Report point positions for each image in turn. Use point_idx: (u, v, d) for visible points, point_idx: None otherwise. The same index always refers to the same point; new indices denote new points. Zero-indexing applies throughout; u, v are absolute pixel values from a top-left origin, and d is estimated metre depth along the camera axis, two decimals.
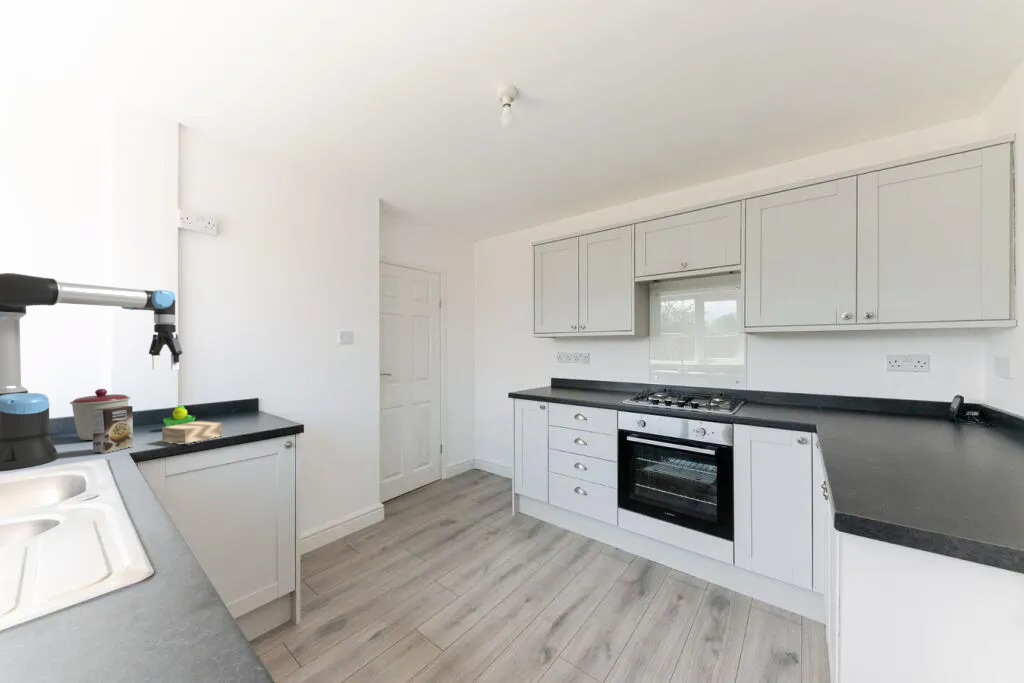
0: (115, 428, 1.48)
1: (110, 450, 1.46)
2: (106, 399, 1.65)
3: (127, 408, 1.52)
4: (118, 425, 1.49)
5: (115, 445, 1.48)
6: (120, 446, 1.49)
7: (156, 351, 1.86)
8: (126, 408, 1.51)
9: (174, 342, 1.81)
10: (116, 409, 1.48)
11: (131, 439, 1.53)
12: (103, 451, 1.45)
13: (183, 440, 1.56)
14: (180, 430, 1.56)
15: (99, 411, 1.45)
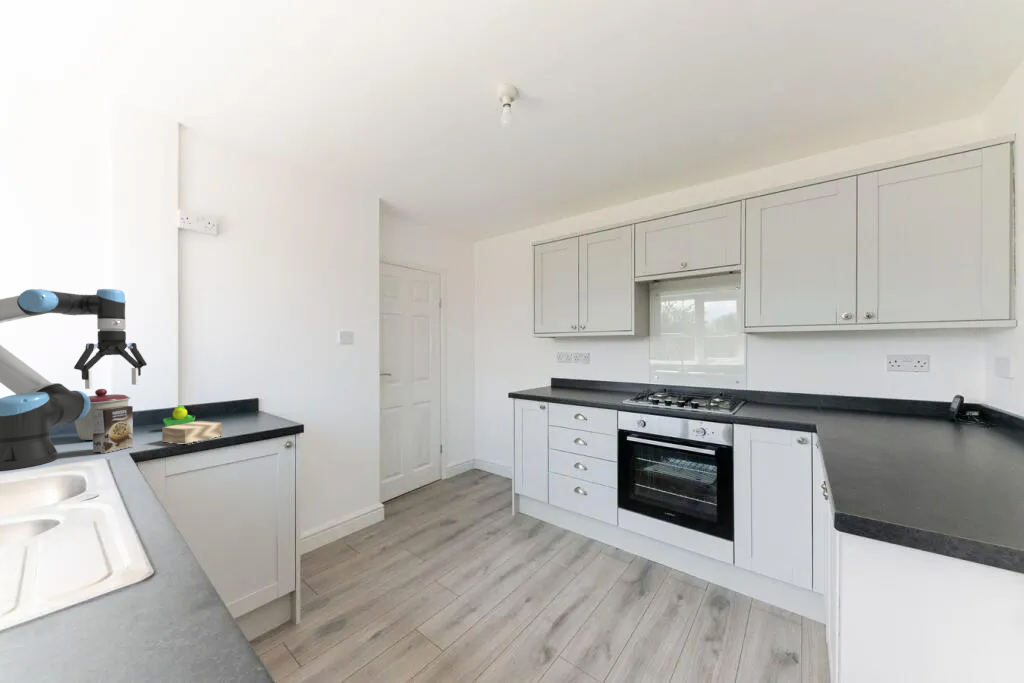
0: (115, 428, 1.48)
1: (110, 450, 1.46)
2: (106, 399, 1.65)
3: (127, 408, 1.52)
4: (118, 425, 1.49)
5: (115, 445, 1.48)
6: (120, 446, 1.49)
7: (131, 363, 1.55)
8: (126, 408, 1.51)
9: (83, 354, 1.42)
10: (116, 409, 1.48)
11: (131, 439, 1.53)
12: (103, 451, 1.45)
13: (183, 440, 1.56)
14: (180, 430, 1.56)
15: (99, 411, 1.45)
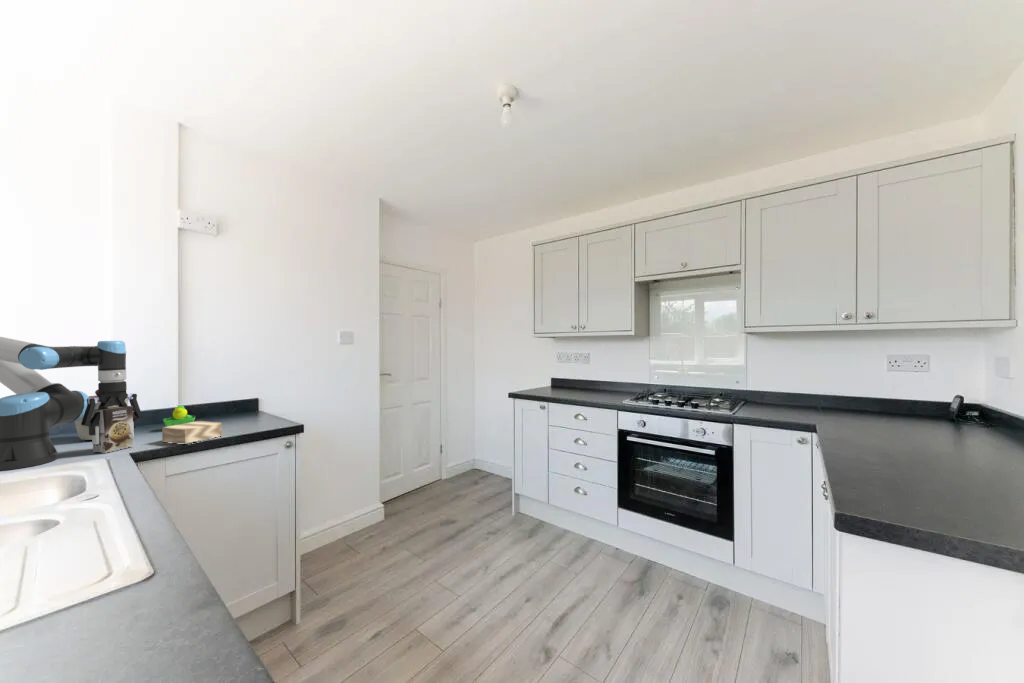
0: (115, 428, 1.48)
1: (110, 450, 1.46)
2: None
3: (127, 408, 1.52)
4: (118, 425, 1.49)
5: (115, 445, 1.48)
6: (120, 446, 1.49)
7: None
8: (126, 408, 1.51)
9: (86, 409, 1.43)
10: (116, 409, 1.48)
11: (131, 439, 1.53)
12: (103, 451, 1.45)
13: (183, 440, 1.56)
14: (180, 430, 1.56)
15: (99, 411, 1.45)
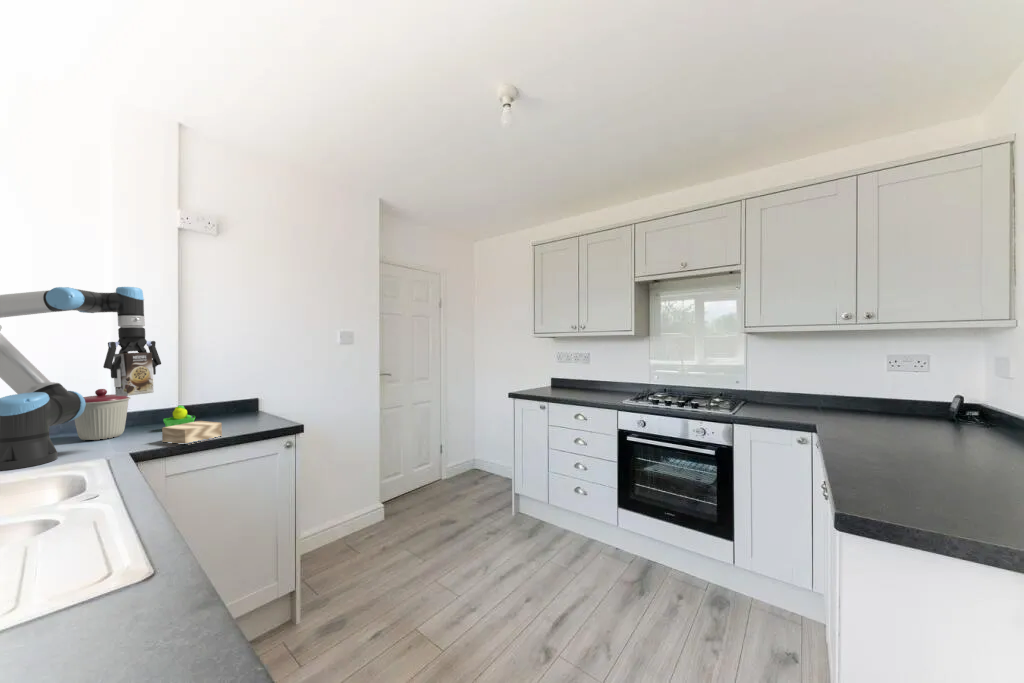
0: (136, 372, 1.51)
1: (132, 393, 1.50)
2: (106, 399, 1.65)
3: (147, 354, 1.55)
4: (139, 369, 1.52)
5: (137, 388, 1.51)
6: (141, 390, 1.53)
7: None
8: (146, 354, 1.55)
9: (107, 353, 1.47)
10: (136, 354, 1.51)
11: (151, 384, 1.56)
12: (125, 394, 1.48)
13: (183, 440, 1.56)
14: (180, 430, 1.56)
15: (120, 355, 1.49)
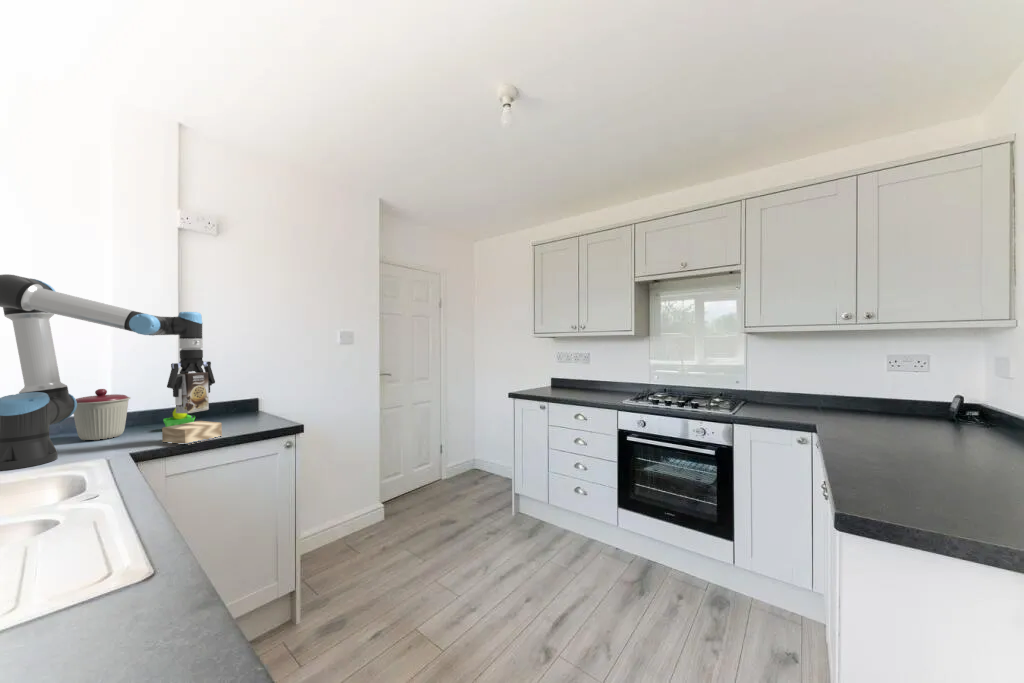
0: (195, 391, 1.62)
1: (191, 411, 1.61)
2: (106, 399, 1.65)
3: (204, 374, 1.66)
4: (197, 389, 1.63)
5: (195, 406, 1.62)
6: (199, 407, 1.64)
7: None
8: (203, 373, 1.66)
9: (171, 373, 1.58)
10: (195, 374, 1.63)
11: (207, 402, 1.68)
12: (185, 411, 1.60)
13: (183, 440, 1.56)
14: (180, 430, 1.56)
15: (181, 375, 1.60)
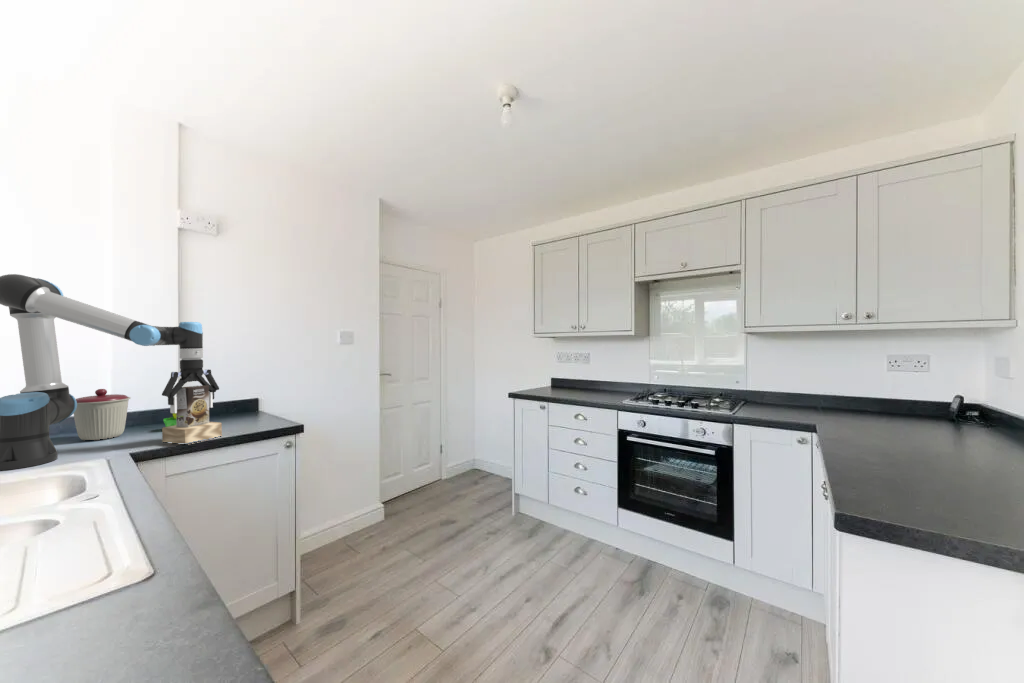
0: (195, 404, 1.62)
1: (191, 424, 1.61)
2: (106, 399, 1.65)
3: (204, 387, 1.66)
4: (198, 402, 1.63)
5: (196, 420, 1.63)
6: (199, 421, 1.64)
7: None
8: (204, 387, 1.66)
9: (169, 381, 1.57)
10: (196, 387, 1.63)
11: (208, 415, 1.68)
12: (186, 425, 1.60)
13: (183, 440, 1.56)
14: (180, 430, 1.56)
15: (182, 389, 1.60)
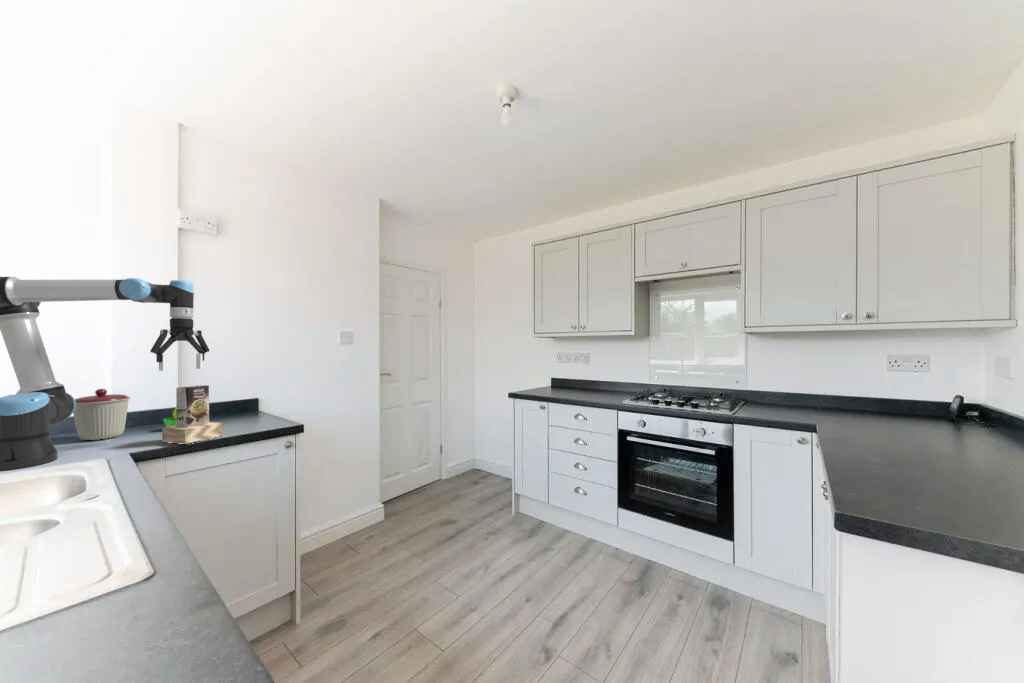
0: (195, 404, 1.62)
1: (191, 424, 1.61)
2: (106, 399, 1.65)
3: (204, 387, 1.66)
4: (198, 402, 1.63)
5: (196, 420, 1.63)
6: (199, 421, 1.64)
7: (196, 349, 1.69)
8: (204, 387, 1.66)
9: (158, 339, 1.56)
10: (196, 387, 1.63)
11: (208, 415, 1.68)
12: (186, 425, 1.60)
13: (183, 440, 1.56)
14: (180, 430, 1.56)
15: (182, 389, 1.60)
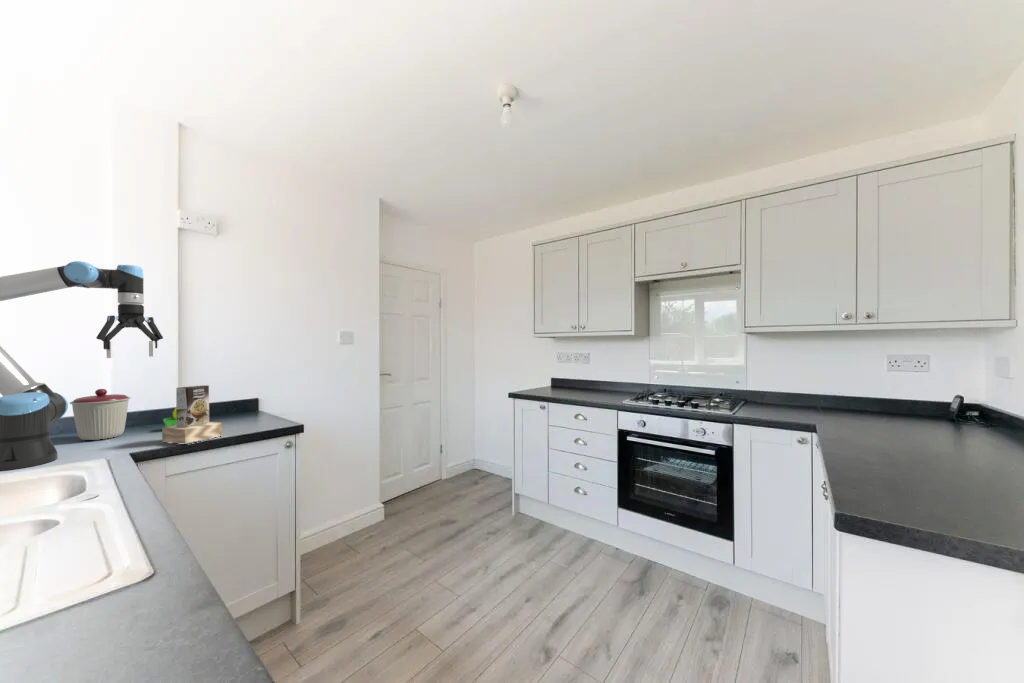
0: (195, 404, 1.62)
1: (191, 424, 1.61)
2: (106, 399, 1.65)
3: (204, 387, 1.66)
4: (198, 402, 1.63)
5: (196, 420, 1.63)
6: (199, 421, 1.64)
7: (148, 336, 1.64)
8: (204, 387, 1.66)
9: (104, 325, 1.51)
10: (196, 387, 1.63)
11: (208, 415, 1.68)
12: (186, 425, 1.60)
13: (183, 440, 1.56)
14: (180, 430, 1.56)
15: (182, 389, 1.60)
